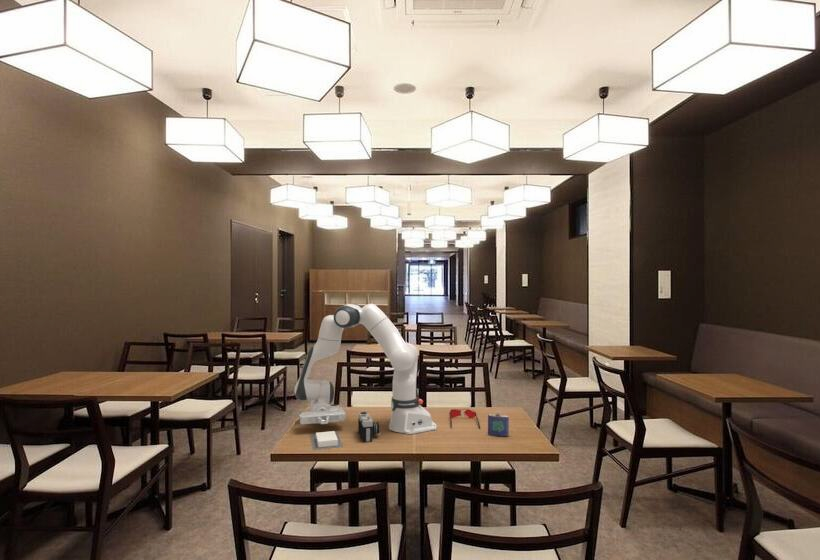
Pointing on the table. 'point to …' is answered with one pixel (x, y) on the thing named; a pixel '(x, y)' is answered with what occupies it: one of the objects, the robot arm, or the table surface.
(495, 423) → the flask
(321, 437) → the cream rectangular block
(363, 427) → the camera
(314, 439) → the mat
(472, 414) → the glasses
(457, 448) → the table surface
